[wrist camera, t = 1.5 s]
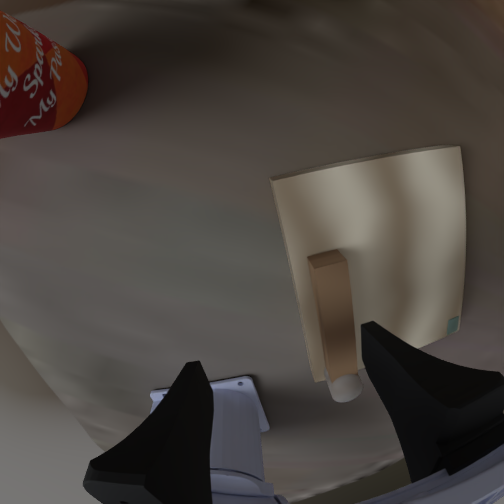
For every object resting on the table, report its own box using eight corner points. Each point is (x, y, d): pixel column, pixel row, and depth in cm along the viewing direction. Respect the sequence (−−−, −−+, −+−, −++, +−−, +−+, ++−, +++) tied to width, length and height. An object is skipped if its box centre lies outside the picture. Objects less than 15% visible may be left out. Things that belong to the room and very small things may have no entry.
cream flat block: (310, 367, 25) (315, 383, 23) (269, 177, 19) (272, 181, 17) (447, 319, 24) (459, 331, 22) (444, 144, 19) (460, 146, 17)
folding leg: (353, 375, 23) (363, 396, 20) (325, 383, 23) (333, 405, 20) (339, 248, 19) (354, 263, 16) (303, 257, 19) (313, 274, 16)
